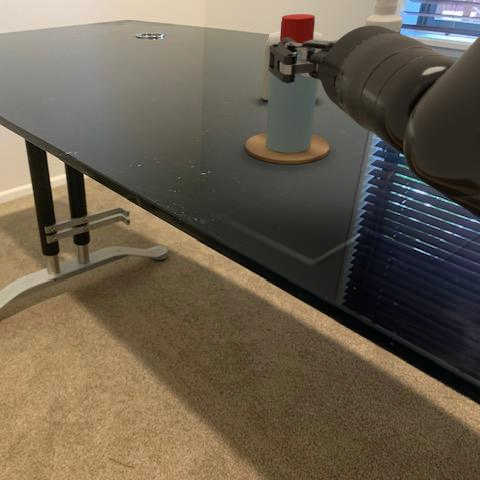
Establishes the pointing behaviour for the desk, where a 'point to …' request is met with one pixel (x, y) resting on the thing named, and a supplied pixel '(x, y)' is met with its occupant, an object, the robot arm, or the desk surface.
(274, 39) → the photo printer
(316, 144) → the coaster
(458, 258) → the desk surface
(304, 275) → the desk surface
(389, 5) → the beige tall canister
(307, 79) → the bottle
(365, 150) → the desk surface
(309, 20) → the bottle cap
